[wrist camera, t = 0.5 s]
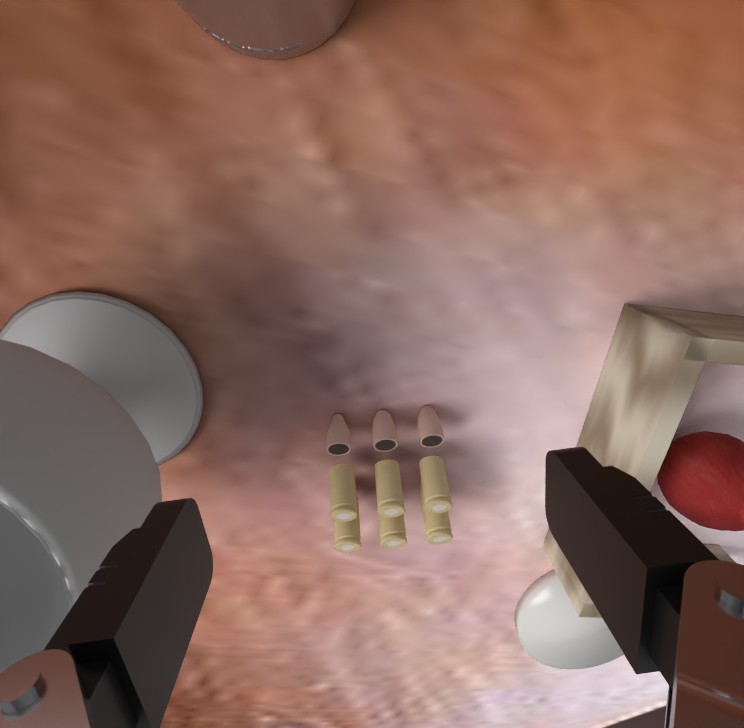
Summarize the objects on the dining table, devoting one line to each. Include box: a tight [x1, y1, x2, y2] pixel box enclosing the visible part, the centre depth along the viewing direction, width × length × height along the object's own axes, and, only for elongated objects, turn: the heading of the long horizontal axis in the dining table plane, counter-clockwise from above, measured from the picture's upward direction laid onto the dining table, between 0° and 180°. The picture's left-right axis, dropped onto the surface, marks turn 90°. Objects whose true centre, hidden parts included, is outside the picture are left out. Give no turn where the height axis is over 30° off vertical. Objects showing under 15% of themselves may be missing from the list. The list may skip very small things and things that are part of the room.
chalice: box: [0, 291, 203, 673], centre depth 22 cm, size 14×14×15 cm
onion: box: [657, 431, 744, 531], centre depth 29 cm, size 6×6×8 cm
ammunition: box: [327, 406, 453, 552], centre depth 30 cm, size 5×7×8 cm
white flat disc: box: [515, 570, 624, 669], centre depth 38 cm, size 11×11×1 cm
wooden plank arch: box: [543, 304, 744, 618], centre depth 30 cm, size 19×14×6 cm
